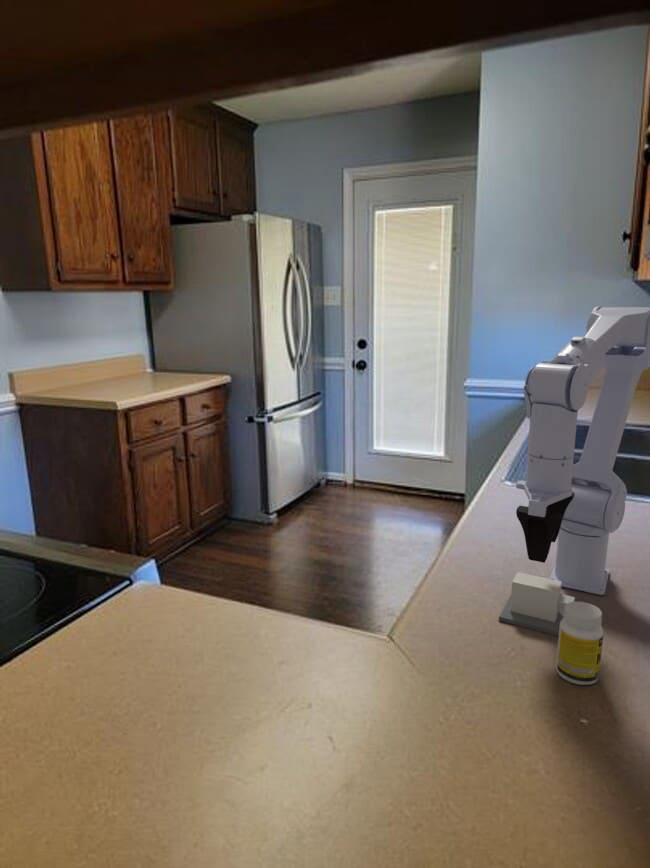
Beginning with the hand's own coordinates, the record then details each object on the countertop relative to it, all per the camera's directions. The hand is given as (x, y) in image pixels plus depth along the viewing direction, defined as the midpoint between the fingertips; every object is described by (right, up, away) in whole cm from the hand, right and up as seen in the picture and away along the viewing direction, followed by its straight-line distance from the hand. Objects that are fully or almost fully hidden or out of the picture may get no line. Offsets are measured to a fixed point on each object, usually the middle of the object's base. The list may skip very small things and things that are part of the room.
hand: (542, 549), depth 80 cm
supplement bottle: (0, -13, -11) cm, 17 cm away
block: (0, -9, +2) cm, 9 cm away
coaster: (0, -10, +2) cm, 10 cm away
